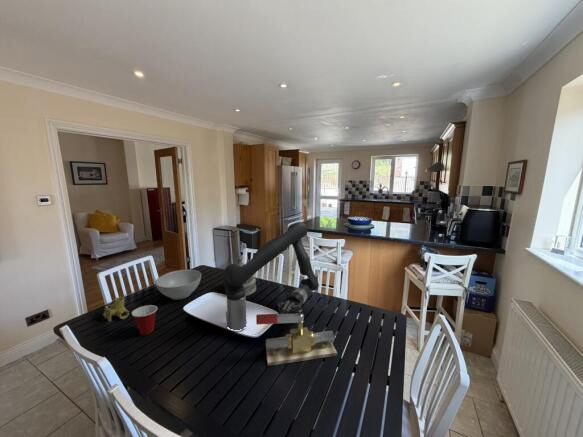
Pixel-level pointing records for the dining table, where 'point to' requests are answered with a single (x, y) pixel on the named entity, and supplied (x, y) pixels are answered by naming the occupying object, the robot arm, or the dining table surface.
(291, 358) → the mounting board
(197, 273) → the decorative bowl
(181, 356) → the dining table surface
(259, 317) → the valve lever
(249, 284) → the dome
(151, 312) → the plastic cup
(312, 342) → the valve line
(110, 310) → the ball valve
